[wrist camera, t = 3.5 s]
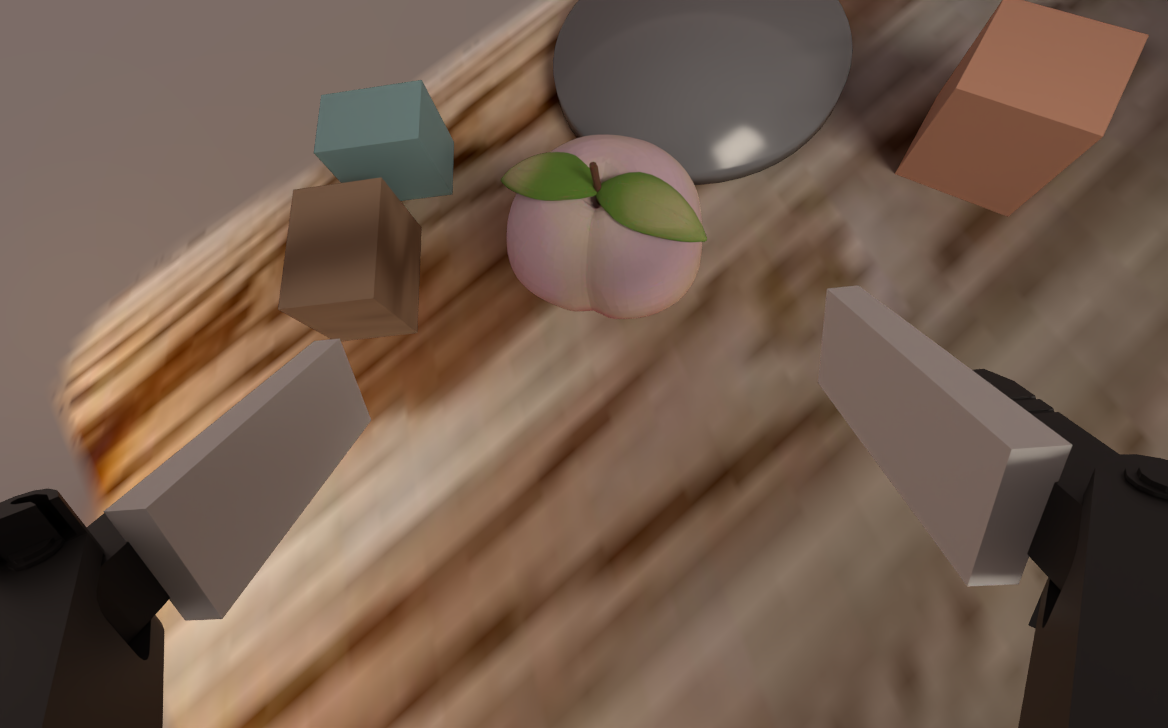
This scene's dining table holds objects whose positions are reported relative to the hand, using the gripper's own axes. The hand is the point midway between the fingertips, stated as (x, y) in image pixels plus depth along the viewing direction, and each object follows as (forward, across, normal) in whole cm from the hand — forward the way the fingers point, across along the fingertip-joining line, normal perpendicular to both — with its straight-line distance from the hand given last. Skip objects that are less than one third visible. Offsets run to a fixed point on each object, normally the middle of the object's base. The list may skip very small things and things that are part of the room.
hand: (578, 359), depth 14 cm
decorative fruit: (+16, +1, -3) cm, 16 cm away
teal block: (+22, -12, +4) cm, 25 cm away
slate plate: (+25, +7, +8) cm, 27 cm away
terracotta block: (+19, +21, +1) cm, 28 cm away
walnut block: (+16, -13, -2) cm, 21 cm away
